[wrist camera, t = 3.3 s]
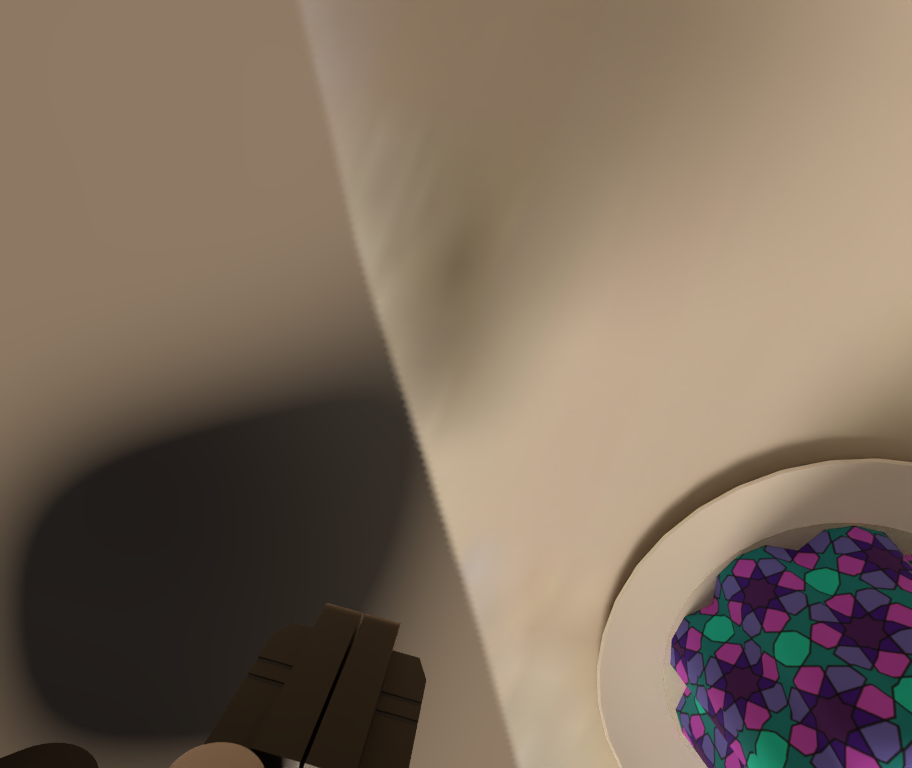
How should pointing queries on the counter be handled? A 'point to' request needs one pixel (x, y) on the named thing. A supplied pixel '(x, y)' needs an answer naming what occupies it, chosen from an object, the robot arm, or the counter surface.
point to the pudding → (771, 630)
